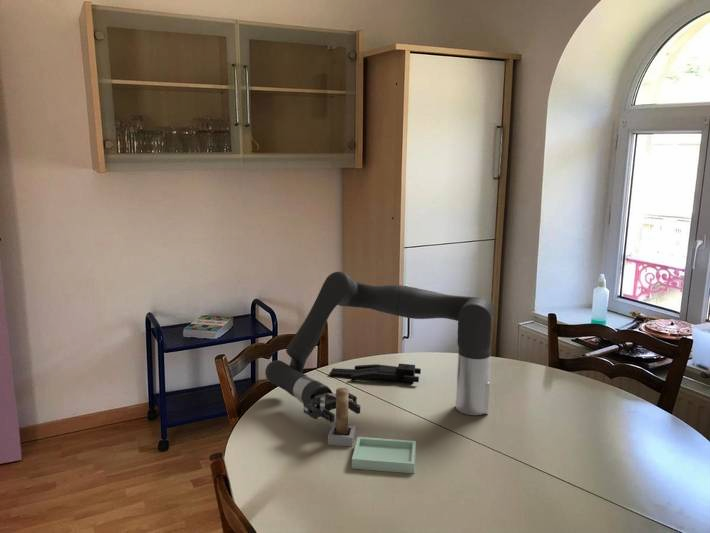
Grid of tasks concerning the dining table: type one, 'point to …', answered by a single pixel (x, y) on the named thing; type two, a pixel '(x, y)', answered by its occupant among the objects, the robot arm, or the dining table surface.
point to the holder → (342, 437)
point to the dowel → (342, 411)
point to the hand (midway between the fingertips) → (346, 414)
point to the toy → (380, 372)
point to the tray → (384, 455)
